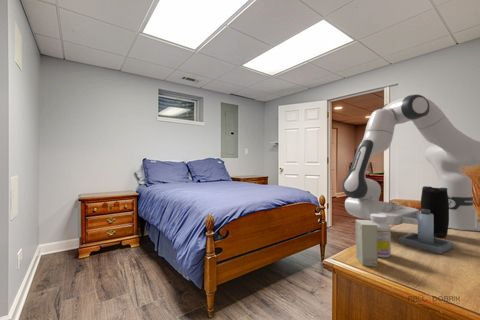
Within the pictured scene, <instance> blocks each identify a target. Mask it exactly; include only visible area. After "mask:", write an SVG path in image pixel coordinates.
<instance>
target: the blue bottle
mask: <svg viewBox="0 0 480 320" xmlns="http://www.w3.org/2000/svg"><path fill="white" fill-rule="evenodd" d="M418 219H419V224H417V234H418V242H421V243H424V244H428V245H432V246H434V238H435V236H434V215H433V214H431V213H430V210H429V209H421V208H420V212H418Z"/></svg>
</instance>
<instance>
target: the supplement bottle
mask: <svg viewBox="0 0 480 320" xmlns="http://www.w3.org/2000/svg"><path fill="white" fill-rule="evenodd" d="M370 218H371V219H370V221H372V222H373V223H375V224H376V225H377V248H378V258H389V257H390V256H391V251H392V249H391V246H392V245H391V243H392V242H391V230H392V229H391V225H390V224H388V223H386V221H387V216H386V215H383V214H370Z"/></svg>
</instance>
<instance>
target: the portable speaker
mask: <svg viewBox="0 0 480 320" xmlns="http://www.w3.org/2000/svg"><path fill="white" fill-rule="evenodd" d="M421 209H429V210H430V213H431V214H433V215H434V238H437V239H441V238H443V239H444V238H446V237H448V236H447V235H448V232H449V228H448V226H449V200H448V193H447V188H442V187H441V188H439V187H432V186H422V189H421V197H420V210H421Z"/></svg>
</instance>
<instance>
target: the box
mask: <svg viewBox="0 0 480 320" xmlns="http://www.w3.org/2000/svg"><path fill="white" fill-rule="evenodd" d="M398 244H401V245H404V244H405V246H409V247H411V246H412V248H414V249H415V248H416V249H419V250H422V251H425V252H429V253H432V254H436V255H439V256H441V255H442V256H443V255H444V254H446V253H447V252H449V251H451V250H452V249H454V242H453V241H450V240H447V239H446V240H445V239H441V238H437V237H434V246H432V245H428V244H424V243H421V242H418V232H417V233H415V232H411V233H408V234H406V235H403V236H401V237H399V243H398Z"/></svg>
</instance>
